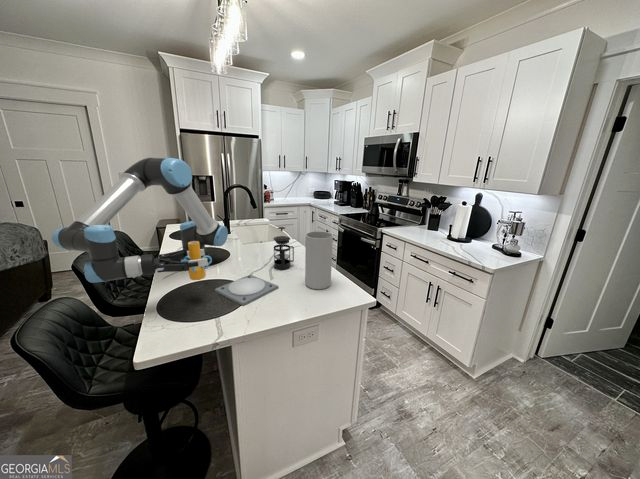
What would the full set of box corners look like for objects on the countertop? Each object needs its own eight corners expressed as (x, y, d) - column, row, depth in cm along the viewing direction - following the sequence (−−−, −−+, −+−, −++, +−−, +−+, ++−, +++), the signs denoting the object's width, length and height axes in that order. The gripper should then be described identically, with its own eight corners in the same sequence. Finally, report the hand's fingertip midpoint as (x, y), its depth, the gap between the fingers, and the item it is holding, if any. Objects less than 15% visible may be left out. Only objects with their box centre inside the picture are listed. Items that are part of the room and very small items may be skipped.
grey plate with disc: (214, 291, 115) (214, 287, 114) (250, 276, 130) (250, 272, 130) (243, 306, 104) (243, 301, 103) (278, 288, 119) (278, 283, 119)
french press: (273, 271, 138) (272, 229, 131) (272, 264, 147) (270, 225, 140) (294, 269, 141) (294, 229, 134) (292, 263, 150) (291, 224, 143)
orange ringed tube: (219, 274, 108) (215, 240, 103) (200, 285, 98) (195, 248, 94) (196, 270, 111) (191, 237, 107) (175, 280, 102) (170, 244, 98)
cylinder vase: (328, 291, 118) (330, 239, 110) (302, 288, 120) (302, 237, 112) (332, 279, 129) (334, 232, 122) (308, 277, 131) (308, 230, 124)
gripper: (146, 263, 105) (203, 256, 115) (139, 288, 85) (210, 276, 95) (143, 246, 103) (202, 240, 113) (135, 267, 83) (208, 257, 93)
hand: (205, 256), depth 104 cm, fingers closed on orange ringed tube, 11 cm apart
